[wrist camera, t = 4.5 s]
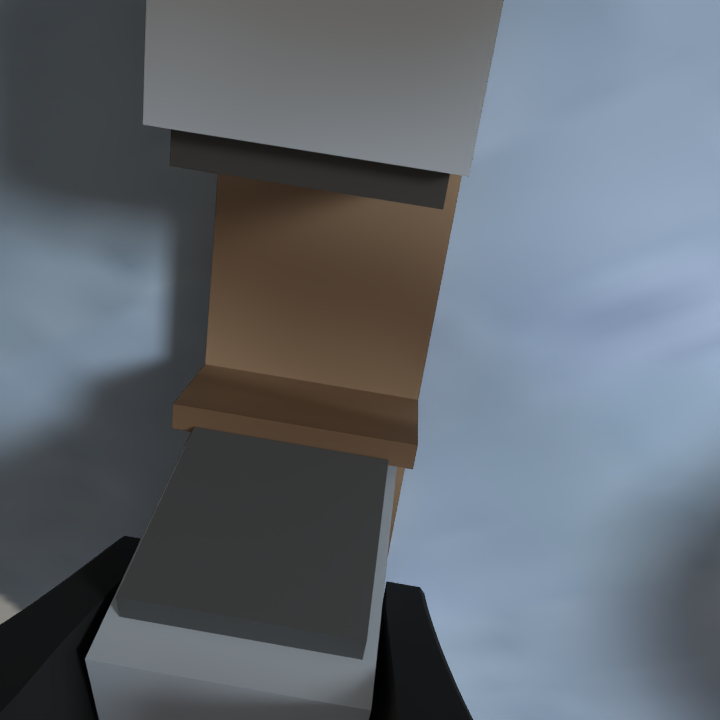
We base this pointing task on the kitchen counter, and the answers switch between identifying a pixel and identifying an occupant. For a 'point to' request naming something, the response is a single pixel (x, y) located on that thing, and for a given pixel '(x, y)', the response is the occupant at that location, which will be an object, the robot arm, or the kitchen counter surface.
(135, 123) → the kitchen counter surface
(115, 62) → the kitchen counter surface
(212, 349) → the rail
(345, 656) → the block
